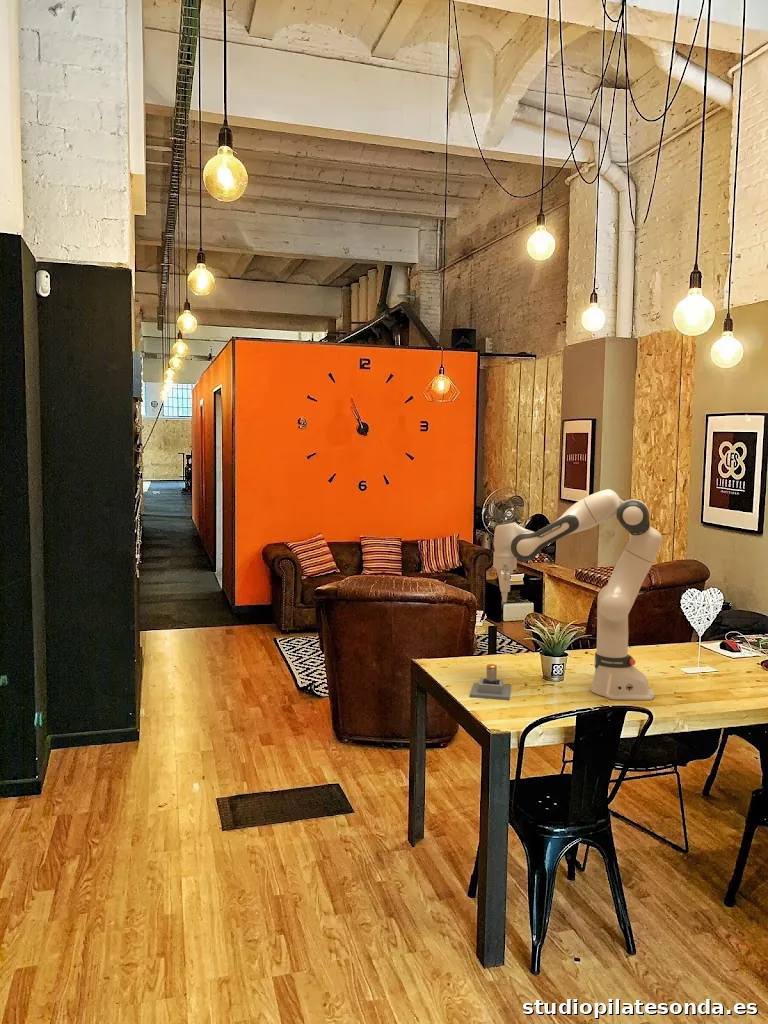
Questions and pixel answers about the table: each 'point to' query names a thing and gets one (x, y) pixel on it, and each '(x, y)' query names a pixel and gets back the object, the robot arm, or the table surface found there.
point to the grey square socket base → (491, 690)
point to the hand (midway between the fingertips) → (504, 599)
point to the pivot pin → (491, 674)
